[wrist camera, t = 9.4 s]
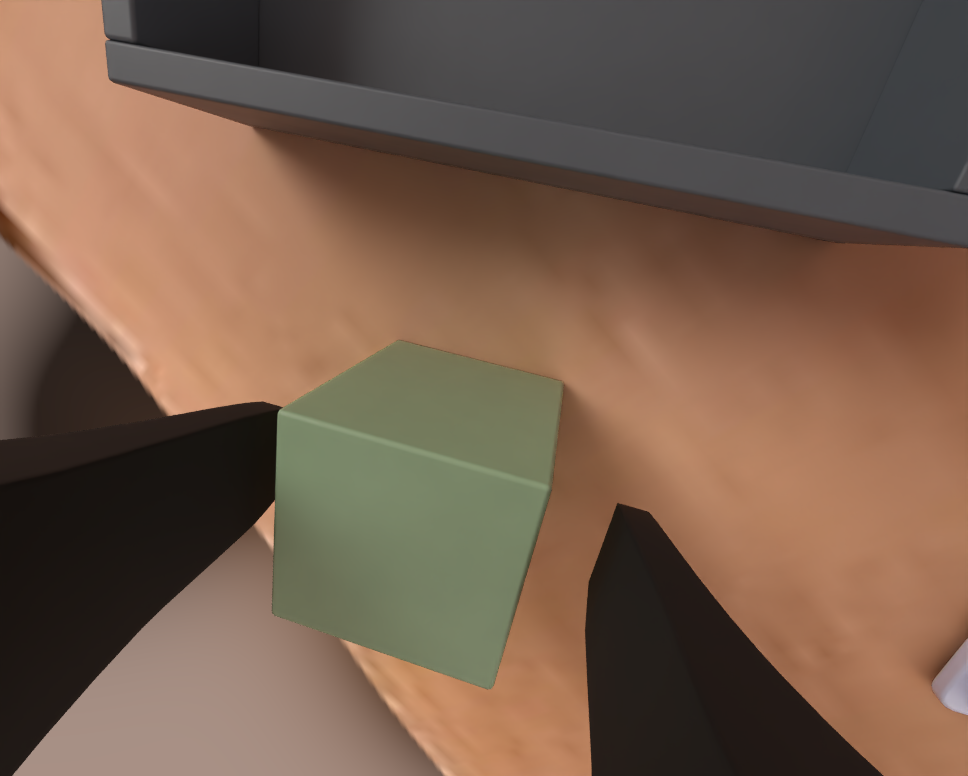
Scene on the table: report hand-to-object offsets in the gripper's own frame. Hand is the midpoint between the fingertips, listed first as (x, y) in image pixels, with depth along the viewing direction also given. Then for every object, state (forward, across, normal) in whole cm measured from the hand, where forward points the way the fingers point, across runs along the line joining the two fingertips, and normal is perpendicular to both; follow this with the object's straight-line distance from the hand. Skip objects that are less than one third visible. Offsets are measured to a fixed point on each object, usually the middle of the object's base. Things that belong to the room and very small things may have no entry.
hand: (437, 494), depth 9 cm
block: (+3, 0, 0) cm, 3 cm away
